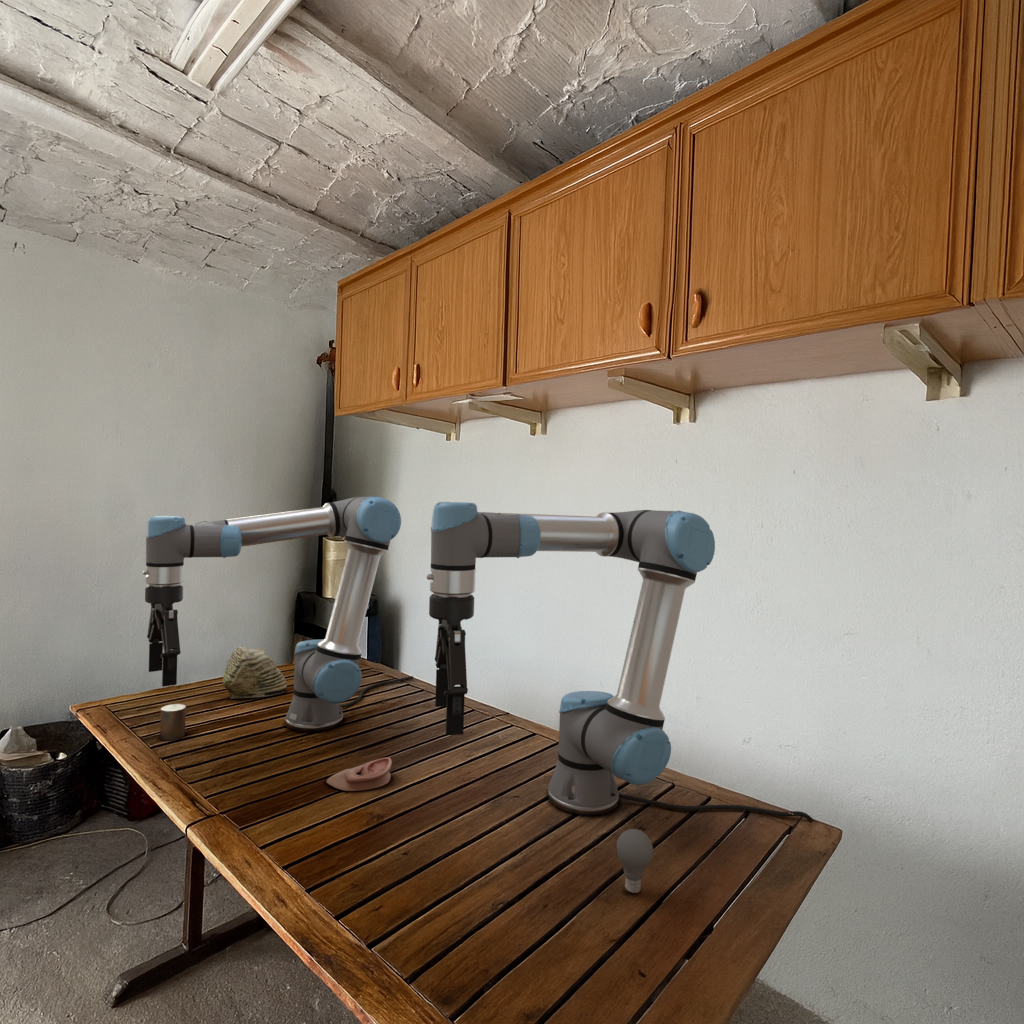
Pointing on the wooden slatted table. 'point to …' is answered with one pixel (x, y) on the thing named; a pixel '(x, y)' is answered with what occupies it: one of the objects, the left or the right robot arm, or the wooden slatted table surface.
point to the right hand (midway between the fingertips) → (448, 719)
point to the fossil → (252, 674)
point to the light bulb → (634, 857)
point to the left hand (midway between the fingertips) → (162, 678)
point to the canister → (172, 722)
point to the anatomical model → (363, 776)
